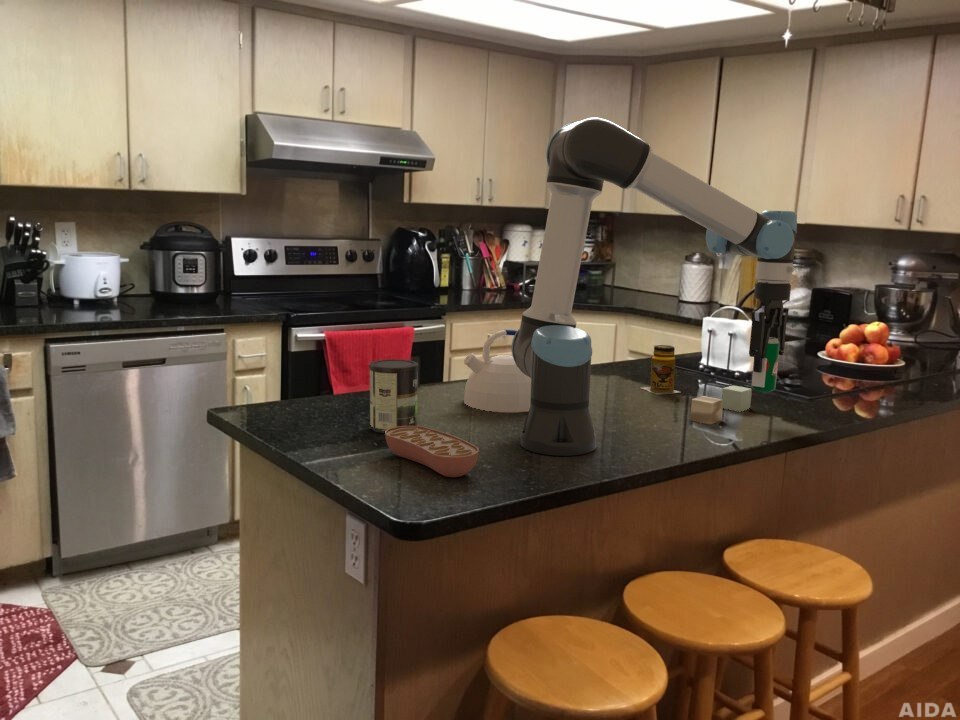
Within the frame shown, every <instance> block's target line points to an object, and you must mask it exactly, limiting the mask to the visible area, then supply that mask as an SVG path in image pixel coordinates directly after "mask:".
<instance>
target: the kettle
mask: <svg viewBox="0 0 960 720" xmlns="http://www.w3.org/2000/svg"><path fill="white" fill-rule="evenodd" d="M517 331H518V330H514V329H503V330H499V331H498V330H497V331H495V332H494V333H492V334H491V335H489V337H488V338H487V340H486V341H485V342H484V345H483V347H482V355H481V357H482V359H480V358H479V357H478V356H476V355H475V353H474V352H471V353H468V354H467V355H466V356H465V358H464V360H463V364H464V365H466V366H467V367H468V368H469V369H470V370H471V372H470V374H469V376H468V379H467V381H466V383H465V386H464V393H463V394H464V395H463V400H464V402H463V403H464V405H465V404H466V405H465V406H467V405H468V406H467V407H469V406H470V407H469V408H471V407H472V408H471V409H474V408H476V409H475V410H478V409H480V410H479V411H483V410H485V411H484V412H489V411H492V413H504V414H505V413H506V414H507V413H508V414H511V413H514V414H515V413H528V412H529V409H530V401H531V378H530V377H529V376H527V375H525V374H524V373H523V372H522V371H521V370H520V369H519V368H518V367H517V365H516V363H515V361H514V359H513V356H512V354H501V355H498V354H497V355H495V356H492V357H491V352H490V351H491V346H492V345H493V344H494V341H496V340H497V339H498V338H500V337H503V336H513V337H514V336H515V334H516V332H517Z"/></svg>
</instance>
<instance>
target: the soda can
mask: <svg viewBox="0 0 960 720" xmlns="http://www.w3.org/2000/svg"><path fill="white" fill-rule="evenodd" d="M779 345H780V343H779V341H778V338H777V337H771V336H769V340H768V345H767V350H766V355H765V358H767V364H766V375H765V386H764V387H757V386H752V385H751V388H753V389H752V390H754V391H758V392H762V393H764V392H765V393H772V392H774V391H775V390H776V384H777V378H776V377H778V368H777V366H779V365H778V364H779V357H778V356H780V355H779Z"/></svg>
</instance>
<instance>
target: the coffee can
mask: <svg viewBox="0 0 960 720" xmlns="http://www.w3.org/2000/svg"><path fill="white" fill-rule="evenodd" d="M368 368H369V403H370V404H369V419H370V421H369V423H370V424H369V425H371V427H373V428H375V429H378V430H382V431H386V430H388V429H390V428H393V427H398V426H418V373H419V372H418V370H419V369H418V368H419V363H418V362H417V361H414V360H411V359H403V358H402V359H397V358H393V359H392V358H390V359H387V358H386V359H380V360H373V361H370V362H369V363H368Z"/></svg>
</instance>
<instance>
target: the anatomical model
mask: <svg viewBox="0 0 960 720" xmlns="http://www.w3.org/2000/svg"><path fill="white" fill-rule="evenodd" d="M384 437H385V441H386V444H387V446H388V448H389V449H390V450H391V452H393V453H394V454H395V455H396V456H398V457H401V458H403V459H407V460H410V461H412V462H416V463H418V464H421V465H423V466H426V467H427V468H430V469H431V470H433V471H434V472H437V473H438V474H440V475H442V476H443V477H446V478H458V477H459V478H460V477H463V476H465V475H467V474H468V473H469V472H471V471H472V470H473V468H474V467H475V466H476V464H477V462H478V459H479V452H480V450H479V447H477V445H475V444H473V443H471V442H469V441H467V440H464V439H462V438H460V437H458V436H455V435H452V434H450V433H446V432H443V431H440V430H437V429H434V428H429V427H426V426H421V425H417V426H398V427H393V428H390V429H388V430H386V431H385V434H384Z"/></svg>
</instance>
